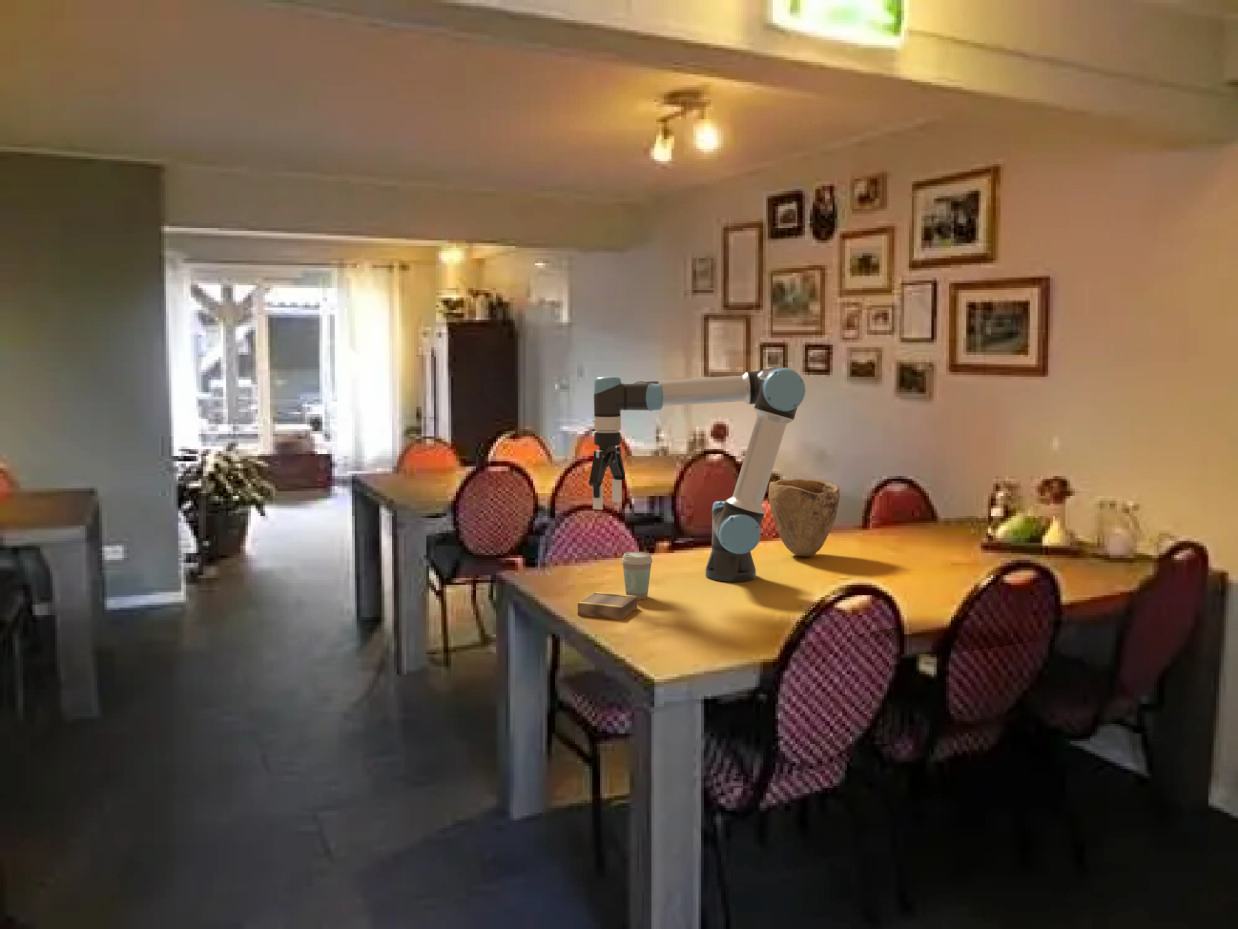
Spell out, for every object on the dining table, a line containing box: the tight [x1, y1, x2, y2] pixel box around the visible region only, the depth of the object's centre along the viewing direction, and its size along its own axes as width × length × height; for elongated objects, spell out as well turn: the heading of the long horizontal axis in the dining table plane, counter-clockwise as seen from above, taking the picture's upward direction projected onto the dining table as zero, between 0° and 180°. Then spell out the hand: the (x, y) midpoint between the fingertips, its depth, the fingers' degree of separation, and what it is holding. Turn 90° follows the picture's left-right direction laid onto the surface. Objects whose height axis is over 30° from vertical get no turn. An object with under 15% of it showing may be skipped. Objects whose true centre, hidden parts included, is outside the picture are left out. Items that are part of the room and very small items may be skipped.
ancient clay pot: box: [768, 478, 841, 558], centre depth 331 cm, size 22×22×25 cm
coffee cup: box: [621, 551, 653, 601], centre depth 277 cm, size 8×8×12 cm
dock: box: [577, 591, 638, 620], centre depth 262 cm, size 12×12×3 cm
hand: (607, 505), depth 286 cm, fingers open, 13 cm apart
